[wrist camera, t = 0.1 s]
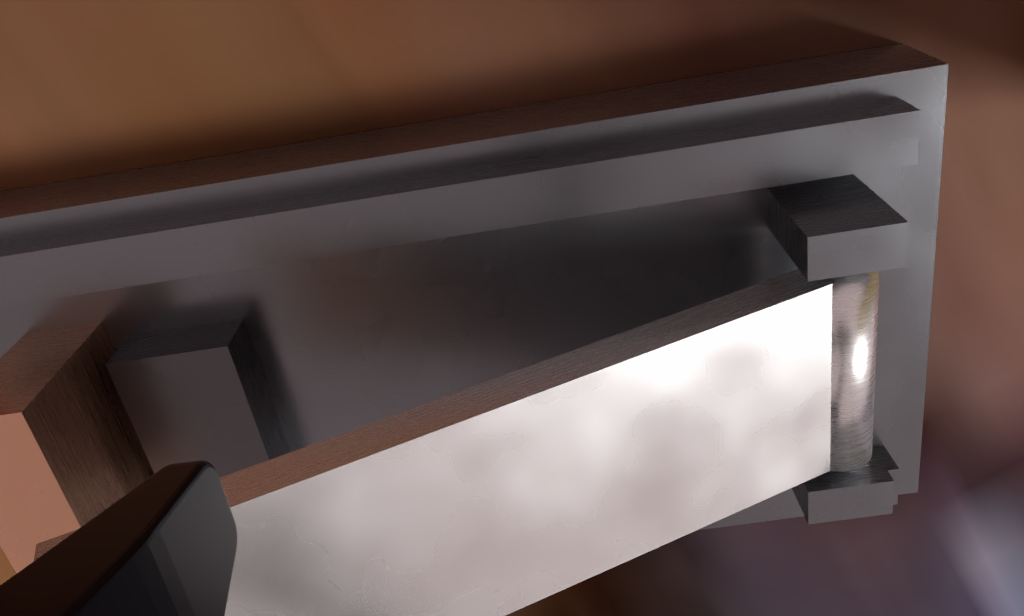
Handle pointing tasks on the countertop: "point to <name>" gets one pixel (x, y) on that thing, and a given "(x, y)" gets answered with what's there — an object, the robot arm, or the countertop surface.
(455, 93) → the countertop surface
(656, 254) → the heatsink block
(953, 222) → the countertop surface
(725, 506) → the bar
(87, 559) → the robot arm
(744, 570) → the countertop surface
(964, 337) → the countertop surface
